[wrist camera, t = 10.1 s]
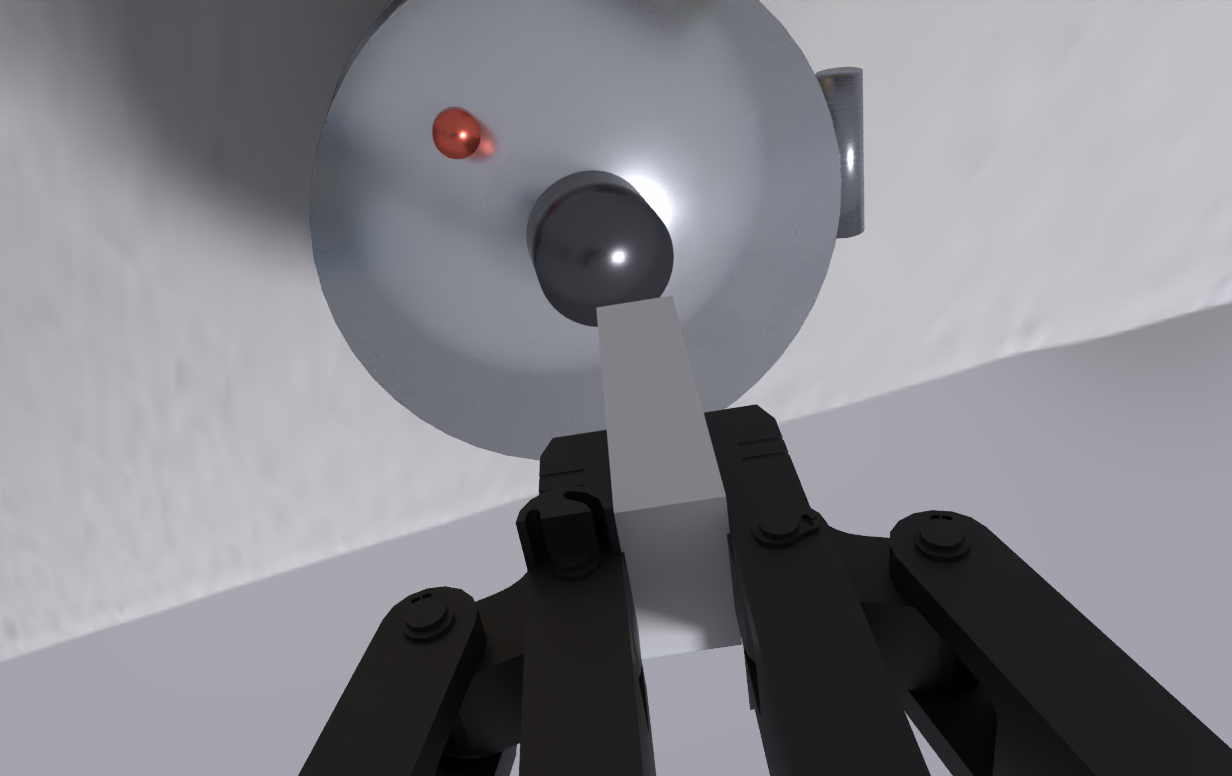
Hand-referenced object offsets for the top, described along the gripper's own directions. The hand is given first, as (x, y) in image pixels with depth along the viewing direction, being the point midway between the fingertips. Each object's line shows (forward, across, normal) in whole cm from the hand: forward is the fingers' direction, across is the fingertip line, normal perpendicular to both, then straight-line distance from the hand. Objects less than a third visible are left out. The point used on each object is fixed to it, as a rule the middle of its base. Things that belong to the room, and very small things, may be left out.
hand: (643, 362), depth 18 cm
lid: (+9, -1, 0) cm, 10 cm away
